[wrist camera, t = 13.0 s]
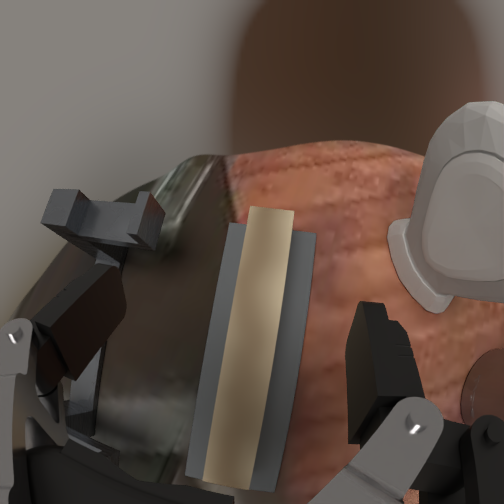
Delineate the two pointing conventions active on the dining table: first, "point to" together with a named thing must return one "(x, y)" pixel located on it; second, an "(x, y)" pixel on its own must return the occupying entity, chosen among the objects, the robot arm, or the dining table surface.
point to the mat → (283, 361)
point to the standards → (106, 252)
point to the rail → (249, 348)
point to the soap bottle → (456, 213)
